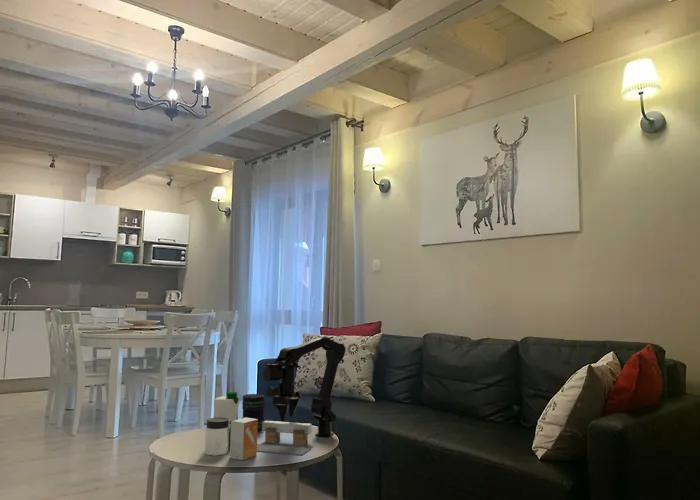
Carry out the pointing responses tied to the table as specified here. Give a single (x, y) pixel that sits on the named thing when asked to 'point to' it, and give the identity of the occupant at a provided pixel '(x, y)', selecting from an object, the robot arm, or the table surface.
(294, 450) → the mat
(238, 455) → the small box
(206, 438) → the jar
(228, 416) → the milk carton
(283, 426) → the long white bar
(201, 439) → the table surface
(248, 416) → the storage jar
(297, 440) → the post
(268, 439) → the post
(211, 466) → the table surface
